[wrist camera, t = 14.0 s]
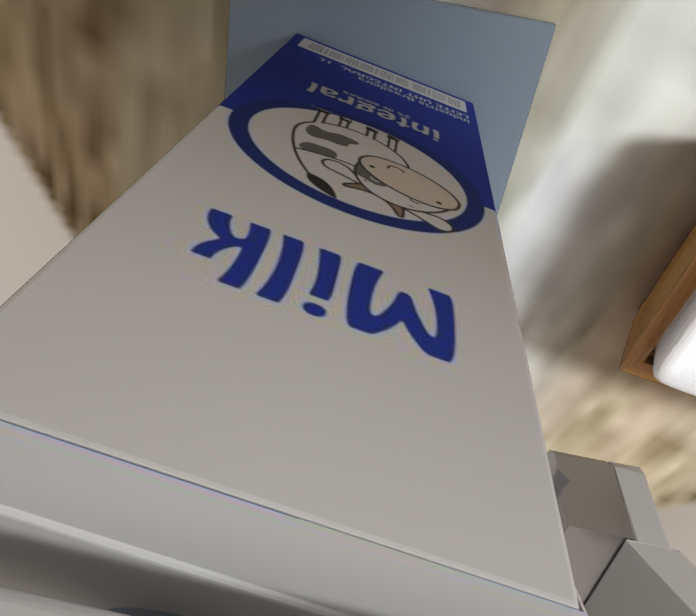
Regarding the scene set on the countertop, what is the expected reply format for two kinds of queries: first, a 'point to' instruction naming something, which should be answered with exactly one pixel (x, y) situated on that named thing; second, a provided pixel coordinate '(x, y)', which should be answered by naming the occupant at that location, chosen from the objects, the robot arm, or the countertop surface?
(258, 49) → the mat
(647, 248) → the countertop surface
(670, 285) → the soap dish
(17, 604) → the robot arm
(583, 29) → the countertop surface
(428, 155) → the milk carton
